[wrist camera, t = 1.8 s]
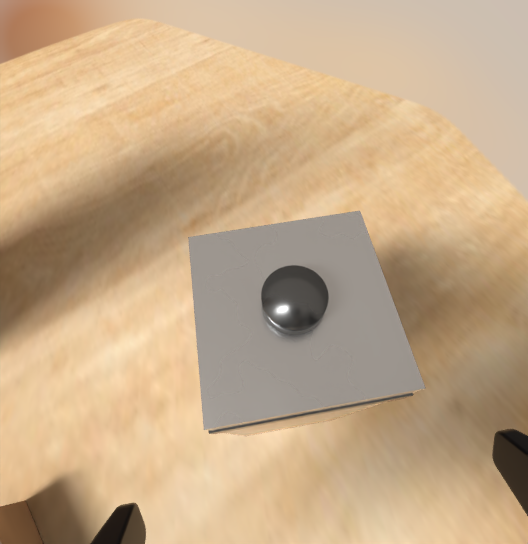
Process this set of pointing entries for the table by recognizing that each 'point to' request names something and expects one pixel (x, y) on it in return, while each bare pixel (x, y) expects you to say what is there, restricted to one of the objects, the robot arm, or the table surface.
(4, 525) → the stand
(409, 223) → the table surface
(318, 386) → the plate
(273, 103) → the table surface
